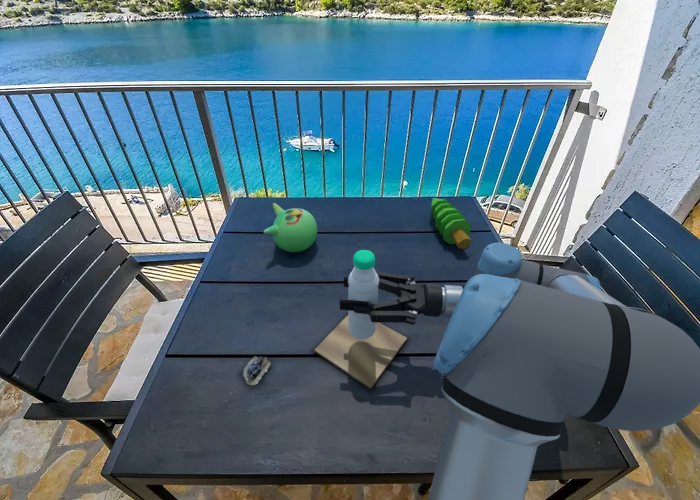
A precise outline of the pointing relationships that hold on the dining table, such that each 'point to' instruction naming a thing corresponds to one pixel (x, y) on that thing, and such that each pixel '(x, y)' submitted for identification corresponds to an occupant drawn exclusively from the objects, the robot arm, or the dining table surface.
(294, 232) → the toy bird
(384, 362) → the gold metal sheet
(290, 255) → the dining table surface
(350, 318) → the water bottle
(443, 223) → the decorative tree
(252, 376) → the geode
